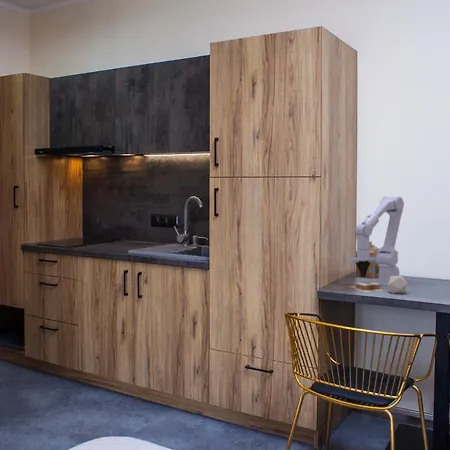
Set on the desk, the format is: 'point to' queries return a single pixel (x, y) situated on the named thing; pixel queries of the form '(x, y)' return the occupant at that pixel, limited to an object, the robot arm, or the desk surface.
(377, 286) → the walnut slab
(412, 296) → the desk surface
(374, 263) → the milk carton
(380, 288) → the light wood board
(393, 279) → the die
